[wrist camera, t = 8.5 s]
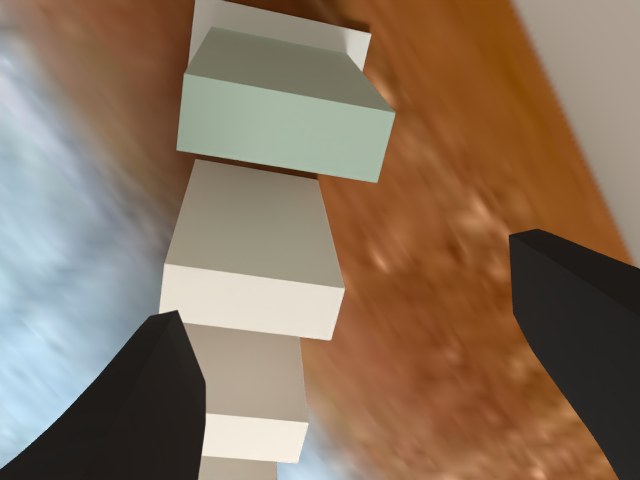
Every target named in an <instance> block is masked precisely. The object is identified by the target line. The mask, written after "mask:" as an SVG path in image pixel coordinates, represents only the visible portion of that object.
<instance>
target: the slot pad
mask: <svg viewBox="0 0 640 480" xmlns="http://www.w3.org/2000/svg"><path fill="white" fill-rule="evenodd" d="M211 26H212V27H217V28H222V29H227V30H232V31H237V32H242V33H247V34H252V35H257V36H262V37H267V38H272V39H277V40H282V41H287V42H292V43H297V44H302V45H307V46H311V47H316V48H321V49H326V50H331V51H336V52H341V53H346V54H348V55H349V56H350V58H351V59H352V60H353V61H354V63H355V64H356V65H357V66H358V67H359V69H360V70H361V71H362V70H363V66H364V62H365V58H366V54H367V50H368V46H369V41H370V37H371V33H367V32H362V31H358V30H353V29H349V28H344V27H340V26H335V25H331V24H326V23H322V22H317V21H313V20H308V19H304V18H299V17H295V16H290V15H286V14H282V13H277V12H273V11H268V10H264V9H259V8H255V7H250V6H246V5H241V4H237V3H232V2H228V1H223V0H195V8H194V17H193V26H192V35H191V43H190V52H189V61H188V66H189V64H190V63H191V61H192V59H193V57H194V56H195V54H196V52H197V50H198V49H199V47H200V45H201V44H202V42H203V40H204V38H205V37H206V35H207V33H208V32H209V30H210V28H211Z"/></svg>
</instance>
